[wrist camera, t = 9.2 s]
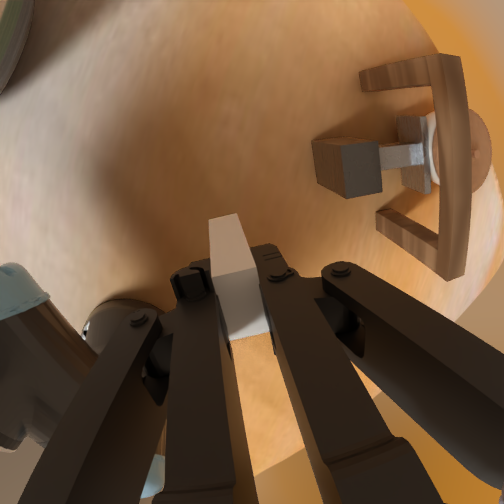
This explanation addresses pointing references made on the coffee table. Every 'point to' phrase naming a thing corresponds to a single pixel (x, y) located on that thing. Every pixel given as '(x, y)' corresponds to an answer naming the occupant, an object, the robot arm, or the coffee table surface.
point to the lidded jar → (478, 149)
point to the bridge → (450, 162)
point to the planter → (13, 34)
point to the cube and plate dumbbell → (374, 160)
